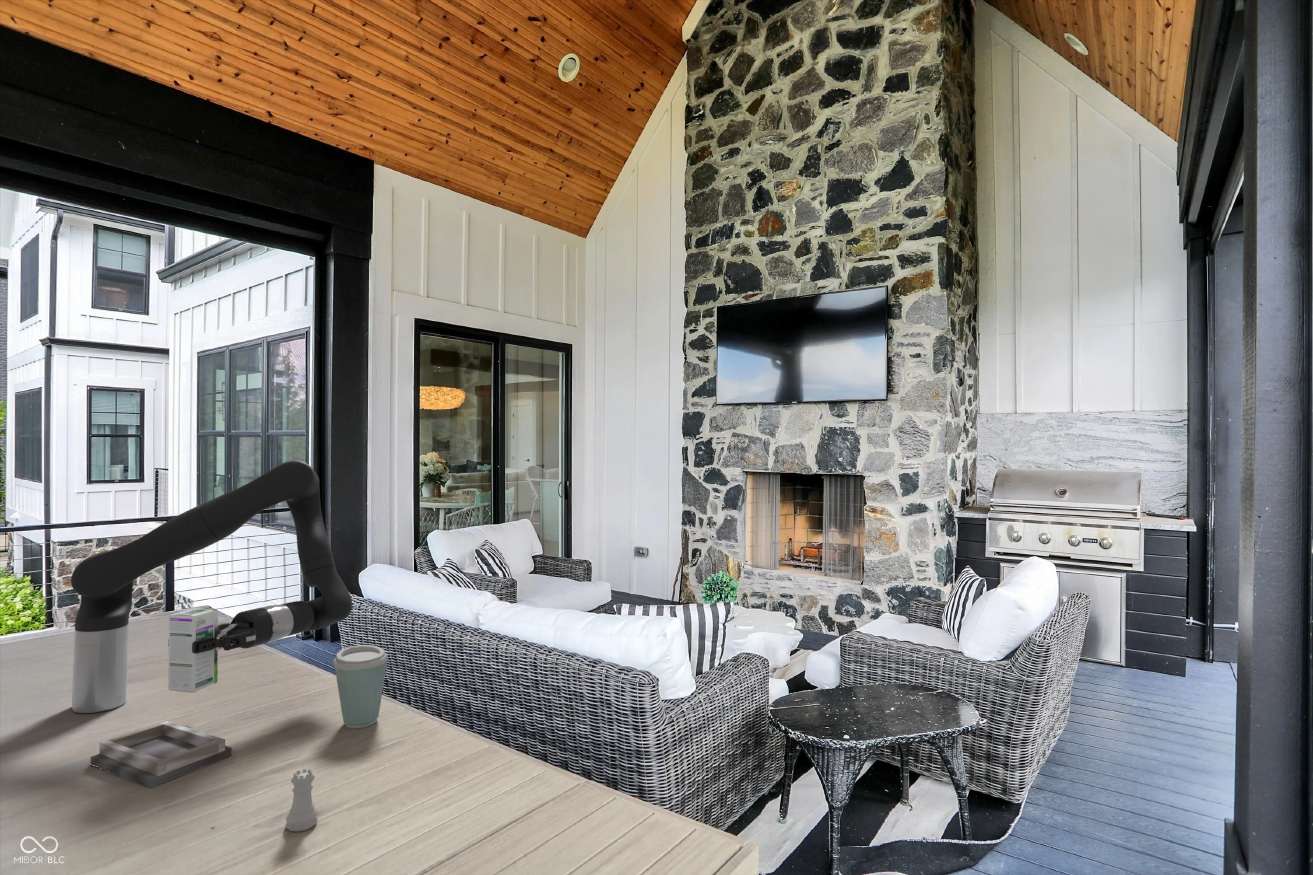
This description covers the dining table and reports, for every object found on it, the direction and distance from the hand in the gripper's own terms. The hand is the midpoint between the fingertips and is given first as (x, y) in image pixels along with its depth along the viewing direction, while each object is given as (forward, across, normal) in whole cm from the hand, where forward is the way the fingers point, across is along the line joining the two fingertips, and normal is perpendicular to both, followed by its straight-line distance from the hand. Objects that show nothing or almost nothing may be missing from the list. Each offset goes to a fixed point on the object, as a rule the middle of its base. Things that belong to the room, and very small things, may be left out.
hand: (181, 645), depth 132 cm
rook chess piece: (+8, +43, +20) cm, 48 cm away
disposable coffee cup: (-25, +19, +20) cm, 37 cm away
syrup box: (-2, 0, +9) cm, 9 cm away
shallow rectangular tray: (+4, +2, +20) cm, 20 cm away
